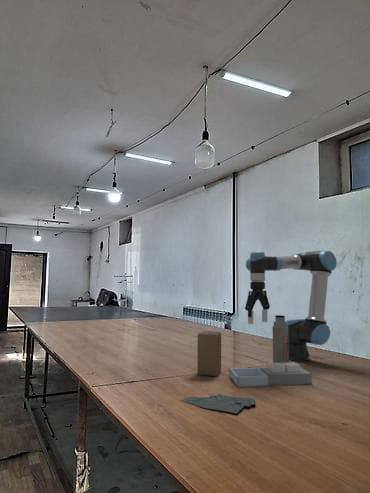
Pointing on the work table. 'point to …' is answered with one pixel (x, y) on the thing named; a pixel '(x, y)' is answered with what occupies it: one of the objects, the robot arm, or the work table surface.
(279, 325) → the thermos bottle
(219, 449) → the work table surface
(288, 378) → the board
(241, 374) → the tray
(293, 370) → the tile
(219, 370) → the wooden block
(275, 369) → the tile
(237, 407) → the decorative slab
